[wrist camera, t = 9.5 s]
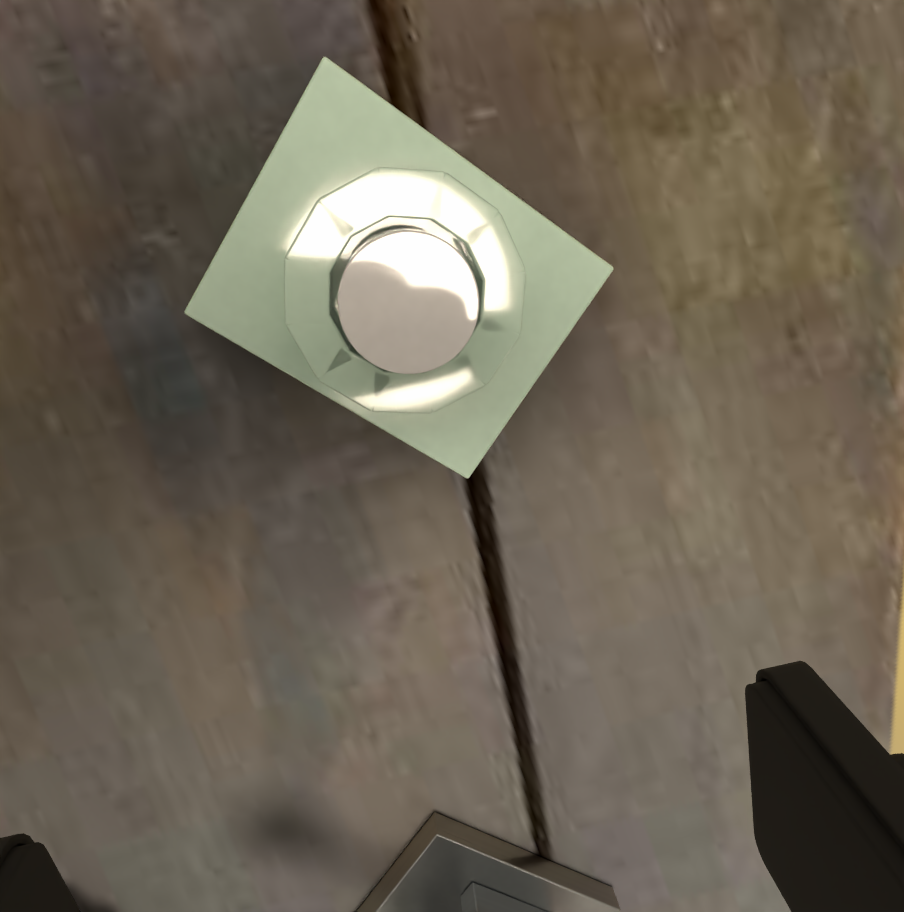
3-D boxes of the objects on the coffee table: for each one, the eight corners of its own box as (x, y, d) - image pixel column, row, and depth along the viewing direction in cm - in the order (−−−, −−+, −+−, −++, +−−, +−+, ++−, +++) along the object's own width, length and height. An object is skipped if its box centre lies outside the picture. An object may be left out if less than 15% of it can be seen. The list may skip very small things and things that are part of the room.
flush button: (315, 316, 20) (310, 326, 18) (384, 199, 19) (385, 199, 17) (425, 383, 21) (430, 399, 19) (495, 276, 20) (507, 282, 18)
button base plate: (199, 302, 23) (165, 323, 19) (328, 69, 21) (319, 40, 17) (460, 457, 25) (475, 501, 22) (593, 262, 23) (636, 273, 20)
